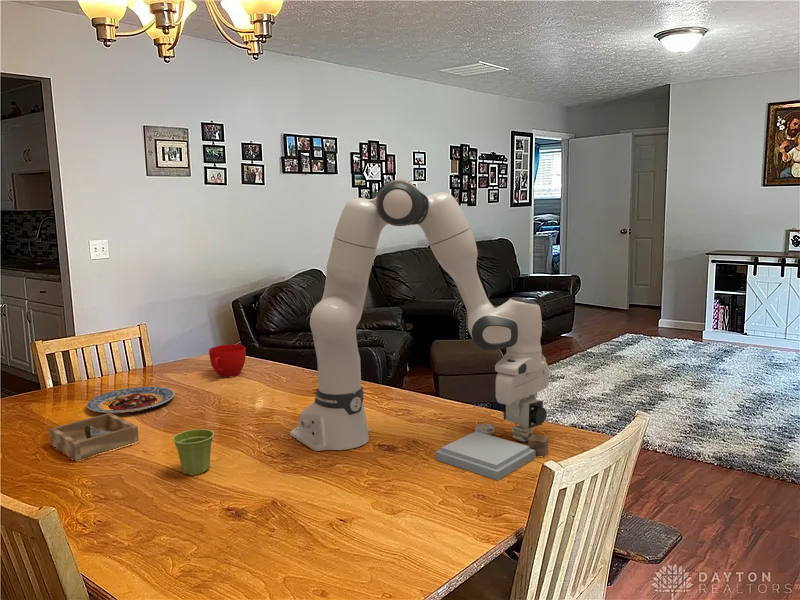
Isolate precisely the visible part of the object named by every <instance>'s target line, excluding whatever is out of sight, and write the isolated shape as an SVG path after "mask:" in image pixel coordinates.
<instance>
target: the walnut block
mask: <svg viewBox="0 0 800 600" xmlns="http://www.w3.org/2000/svg"><path fill="white" fill-rule="evenodd" d="M528 446H530V449H533V450H535V457H537V456H543V457H542V458H544V457H545V456H547V454H548V453H549V452H548V451H549V436H547V435H542V434H541V435H540V434H532V435H531V437H530V439H529V440H528ZM545 458H546V457H545Z"/></svg>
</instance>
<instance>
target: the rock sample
mask: <svg viewBox="0 0 800 600" xmlns="http://www.w3.org/2000/svg"><path fill="white" fill-rule="evenodd" d="M106 433H110V432H108V431H105V430H102V431H101V430H96V429H95V428H94V427H92V426H88V425H87V426H86V427H85V435H86V437H87V439H89V438H92V437H96V436H99V435H103V434H106Z"/></svg>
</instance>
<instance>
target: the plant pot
mask: <svg viewBox="0 0 800 600" xmlns="http://www.w3.org/2000/svg"><path fill="white" fill-rule="evenodd" d="M214 437H215V432H214V431H213V430H211V429H205V428H196V429H195V428H194V429H189V430H185V431H181V432H179V433H177V434H175V435H174V436H173V437H172V442H173V443H174V445H175V447H176V449H177V452H178V453H177V454H178V458H179V461H180V467H181V469H182V473H183V472H184V473H185V474H184V473H183V474H184V475H189V474H198V475H201V474H200V473H202V474H204V473H205V472H207V471H209V470H210V467H211V466H210V465H211V454H212V453H211V451H212V442H213V438H214ZM208 469H209V470H208ZM203 472H204V473H203Z"/></svg>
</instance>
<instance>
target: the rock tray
mask: <svg viewBox="0 0 800 600" xmlns="http://www.w3.org/2000/svg"><path fill="white" fill-rule="evenodd" d="M87 425H88V426H92V427H94V428H95V429H96V430H101V431H102V430H105V431H108V432H110V433H106V434H103V435H99V436H96V437H92V438H89V439H87V437H86V435H85V427H86V426H87ZM48 430H49V438H50V440H49V441H50V446H51V445H53V446H54V447H56V448H57V449H59V450H60V451H62V452H63V453H65V454H66V455H68V456H69V457H71V458H72V459H73V460H75V461H79V460H82V459H85V458H88V457H91V456H93V455H96V454H99V453H102V452H106V451H109V450H113V449H116V448H119V447H122V446H125V445H128V444H132V443H135V442H137V441H139V442H140V439H139V426H137V425H136V424H134V423H131V422H129V421H128V420H126V419H123V418H121V417H120V416H118V415H115V414H114V413H104V414H101V415H97V416H91V417H89V418H85V419H81V420H78V421H73V422H69V423H65V424H61V425H58V426H54V427H51V428H49V429H48ZM54 447H53V448H54ZM57 449H56V450H57ZM60 451H59V452H60ZM63 453H62V454H63ZM66 455H65V456H66ZM69 457H68V458H69ZM72 459H71V460H72ZM73 460H72V461H73ZM75 461H74V462H75Z"/></svg>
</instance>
